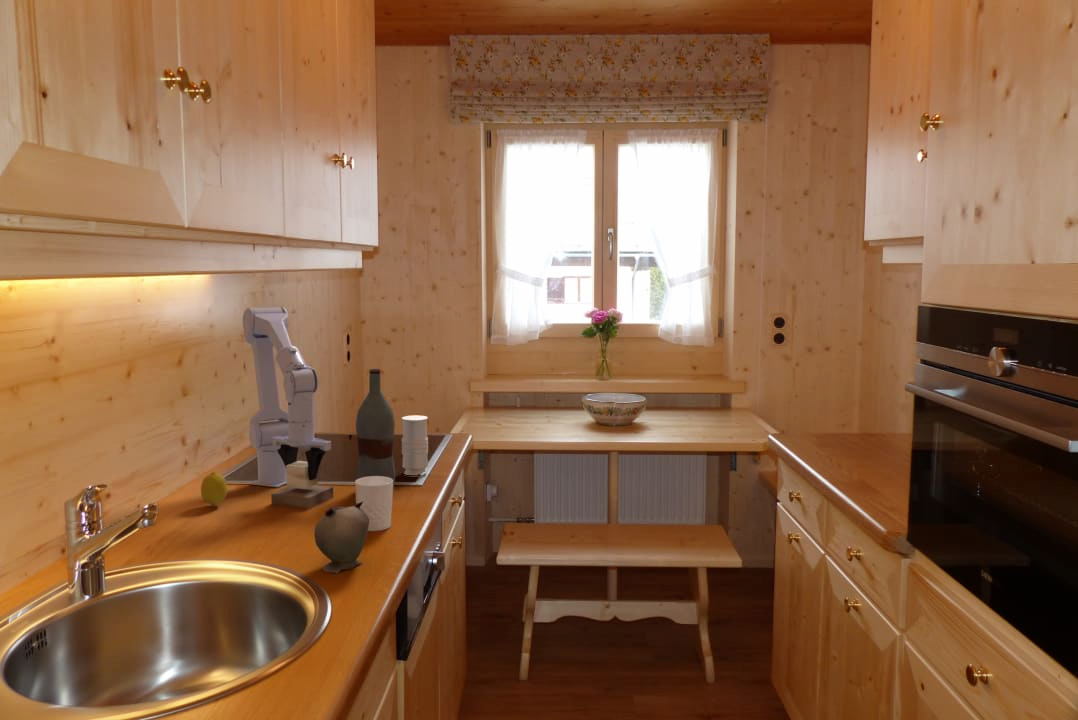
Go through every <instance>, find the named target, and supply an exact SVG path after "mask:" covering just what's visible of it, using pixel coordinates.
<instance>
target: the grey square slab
mask: <svg viewBox="0 0 1078 720" xmlns="http://www.w3.org/2000/svg"><path fill="white" fill-rule="evenodd" d="M270 496H271V497H270V498H271V505H273V506H280V507H281V506H282V507H288V508H289V507H291V508H297V509H306V510H310V509H313V508H314V507H316V506H318V505H321V504H322V503H326V502H327V501H329V500H331V499H333V498H334V486H327V485H320V484H315V485H313V486H311V487H308V488H306V489H302V488H293V487H287V486H285V487H284V488H281V489H280V490H276V491H274V492H272V493H271V495H270Z"/></svg>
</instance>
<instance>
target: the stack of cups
mask: <svg viewBox="0 0 1078 720" xmlns="http://www.w3.org/2000/svg"><path fill="white" fill-rule="evenodd" d="M401 421H402V437H401V455H402V464H401V465H402V468H404V470H405V471H404V473H403V475H404V474H406V475H418V474H421V473H423V472H425V471H426V468H428V467H429V460H428V454H429V442H428V441H429V437H428V416H426V415H415V414H413V415H406V416H402V417H401ZM406 475H405V476H406Z"/></svg>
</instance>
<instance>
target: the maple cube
mask: <svg viewBox="0 0 1078 720" xmlns="http://www.w3.org/2000/svg"><path fill="white" fill-rule="evenodd" d="M285 485H286V487H293V488H302V489H306V488H308V487H311V486H313V485H318V477H317V478H316V479H314V480H309V476H308V463H307V460H306V461H304V460H296V462H294V463H292V464H289V465H286V484H285Z"/></svg>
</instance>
